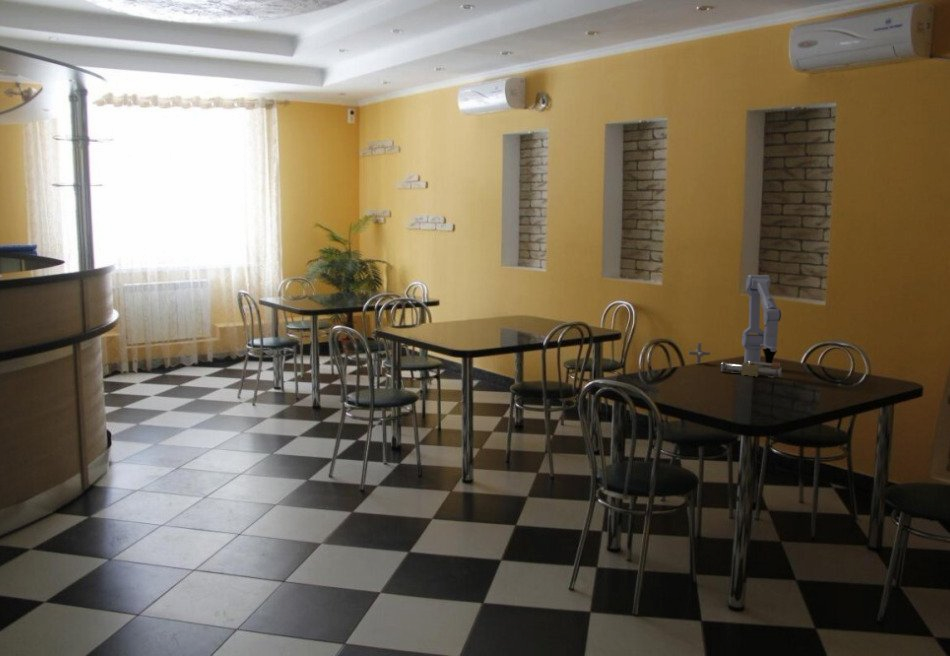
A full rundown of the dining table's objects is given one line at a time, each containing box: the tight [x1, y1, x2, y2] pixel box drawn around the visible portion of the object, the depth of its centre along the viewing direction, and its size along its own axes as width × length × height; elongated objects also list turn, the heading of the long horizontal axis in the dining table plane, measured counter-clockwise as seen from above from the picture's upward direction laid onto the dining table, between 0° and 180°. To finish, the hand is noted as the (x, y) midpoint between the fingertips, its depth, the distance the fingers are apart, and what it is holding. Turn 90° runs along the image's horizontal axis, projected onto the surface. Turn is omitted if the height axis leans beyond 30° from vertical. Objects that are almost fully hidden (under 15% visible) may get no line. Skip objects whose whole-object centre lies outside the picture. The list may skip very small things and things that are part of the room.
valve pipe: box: [720, 361, 783, 379], centre depth 388 cm, size 6×26×5 cm, turn 63°
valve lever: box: [748, 360, 781, 368], centre depth 385 cm, size 14×3×1 cm, turn 65°
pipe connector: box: [687, 342, 711, 364], centre depth 413 cm, size 10×10×10 cm
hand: (768, 364), depth 386 cm, fingers closed
